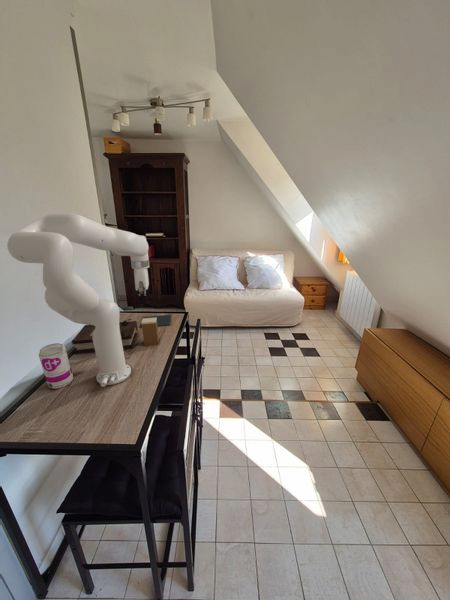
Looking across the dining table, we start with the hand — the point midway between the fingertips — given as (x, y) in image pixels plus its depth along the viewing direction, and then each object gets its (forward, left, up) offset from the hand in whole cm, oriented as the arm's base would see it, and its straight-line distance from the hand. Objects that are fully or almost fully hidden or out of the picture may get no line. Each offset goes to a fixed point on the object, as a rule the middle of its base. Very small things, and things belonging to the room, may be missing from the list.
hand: (145, 300), depth 117 cm
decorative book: (+2, +20, -22) cm, 30 cm away
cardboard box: (-2, -1, -22) cm, 22 cm away
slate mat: (+23, -1, -22) cm, 32 cm away
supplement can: (-27, +30, -22) cm, 46 cm away
